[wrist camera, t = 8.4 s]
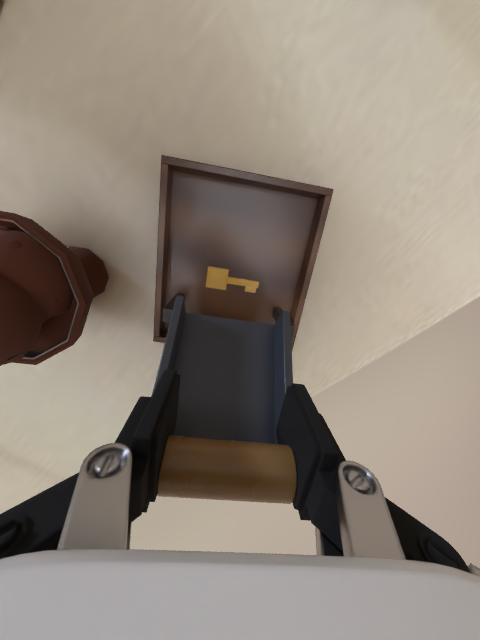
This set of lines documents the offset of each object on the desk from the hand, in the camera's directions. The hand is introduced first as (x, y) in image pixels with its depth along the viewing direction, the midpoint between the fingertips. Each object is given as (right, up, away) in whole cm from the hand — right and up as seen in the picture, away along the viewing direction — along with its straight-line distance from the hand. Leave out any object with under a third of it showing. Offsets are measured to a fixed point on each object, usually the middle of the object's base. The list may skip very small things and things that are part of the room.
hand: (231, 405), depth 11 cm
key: (0, +8, +14) cm, 16 cm away
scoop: (-1, -1, +7) cm, 7 cm away
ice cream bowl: (-16, +9, +14) cm, 23 cm away
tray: (0, +10, +14) cm, 17 cm away
